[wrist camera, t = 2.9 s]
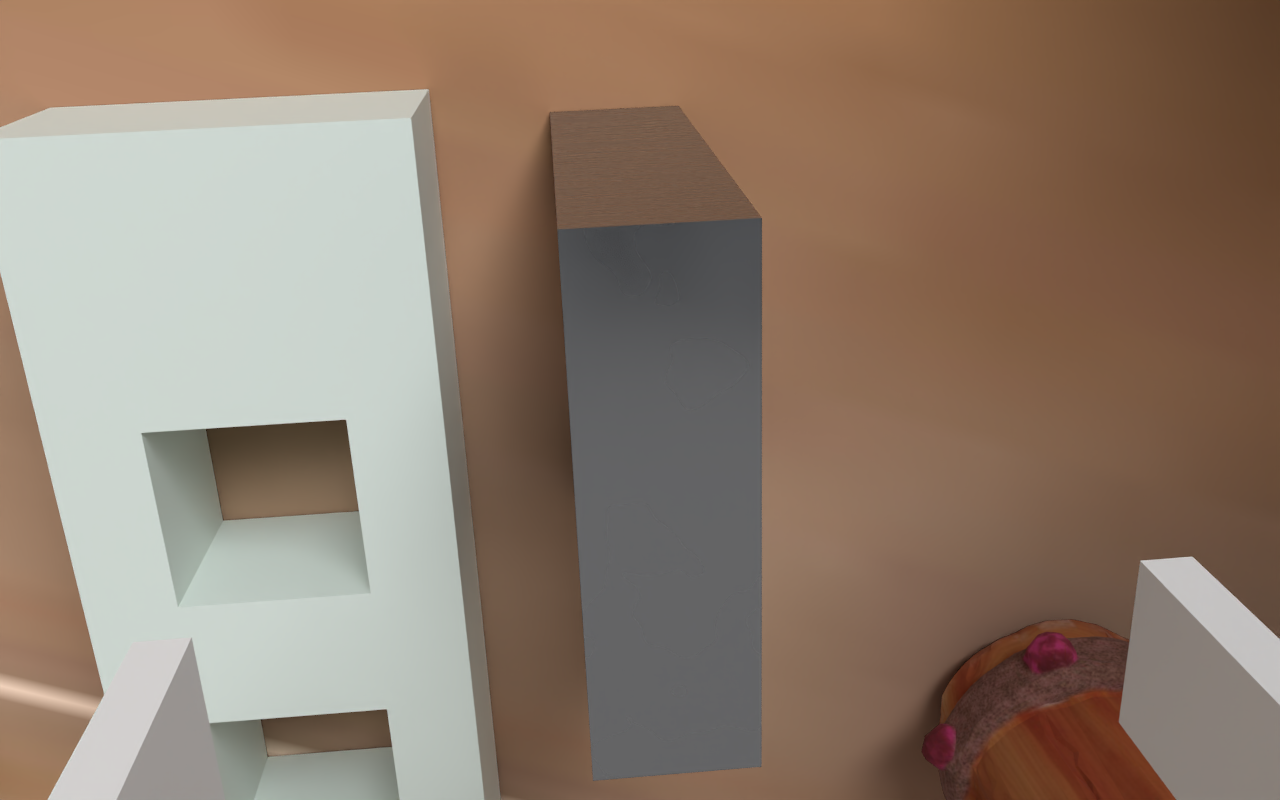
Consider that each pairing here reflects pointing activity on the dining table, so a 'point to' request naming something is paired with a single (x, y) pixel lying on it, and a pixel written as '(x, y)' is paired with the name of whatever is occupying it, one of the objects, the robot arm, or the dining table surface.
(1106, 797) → the mug
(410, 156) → the pale board with holes
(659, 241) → the grey block
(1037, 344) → the dining table surface
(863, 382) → the dining table surface
